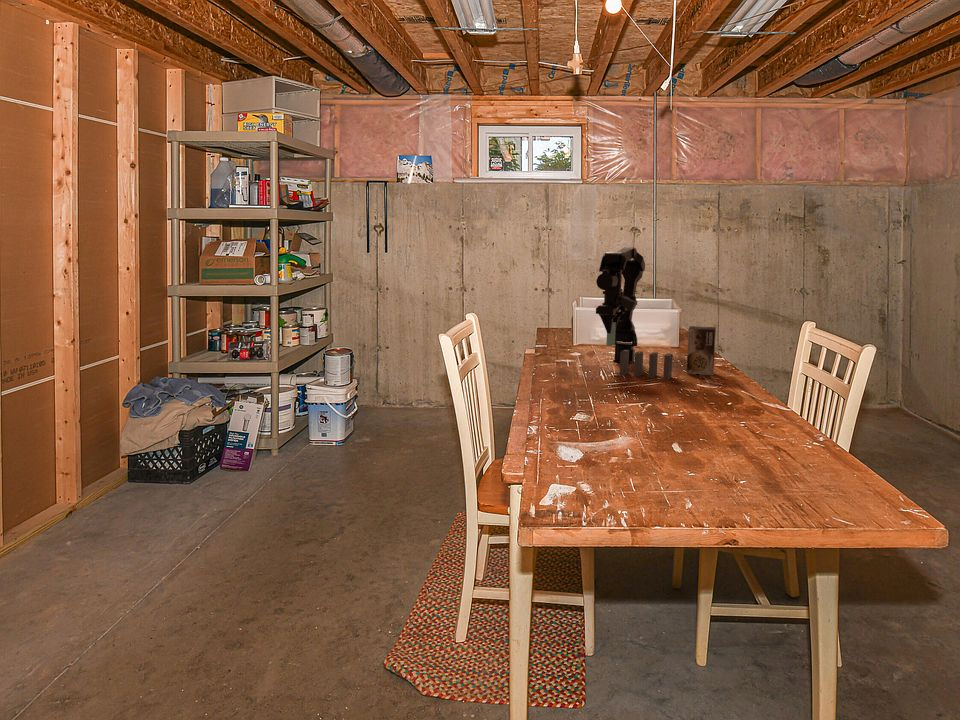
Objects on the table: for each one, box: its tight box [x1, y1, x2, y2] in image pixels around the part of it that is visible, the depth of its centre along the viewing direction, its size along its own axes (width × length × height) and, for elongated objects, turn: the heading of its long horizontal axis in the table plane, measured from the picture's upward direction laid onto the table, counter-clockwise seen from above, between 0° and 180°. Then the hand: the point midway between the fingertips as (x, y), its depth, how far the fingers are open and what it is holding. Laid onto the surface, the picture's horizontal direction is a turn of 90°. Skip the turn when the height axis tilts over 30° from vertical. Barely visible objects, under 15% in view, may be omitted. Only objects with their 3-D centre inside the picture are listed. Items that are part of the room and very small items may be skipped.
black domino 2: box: [619, 350, 630, 376], centre depth 267 cm, size 2×5×8 cm, turn 154°
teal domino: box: [605, 322, 616, 347], centre depth 274 cm, size 2×5×8 cm, turn 154°
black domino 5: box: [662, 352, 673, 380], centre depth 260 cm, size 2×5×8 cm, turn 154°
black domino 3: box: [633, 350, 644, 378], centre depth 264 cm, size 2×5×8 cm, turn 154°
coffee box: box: [685, 326, 717, 376], centre depth 268 cm, size 9×6×16 cm
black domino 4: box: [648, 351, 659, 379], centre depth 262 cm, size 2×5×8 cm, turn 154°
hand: (611, 332), depth 274 cm, fingers closed on teal domino, 5 cm apart
